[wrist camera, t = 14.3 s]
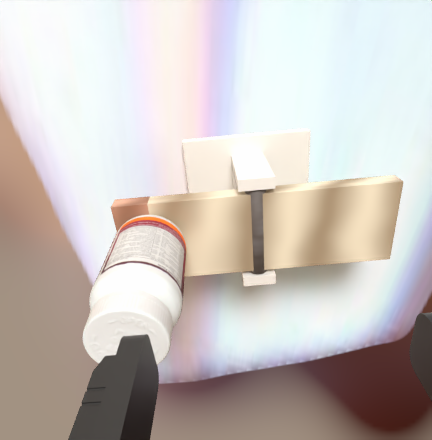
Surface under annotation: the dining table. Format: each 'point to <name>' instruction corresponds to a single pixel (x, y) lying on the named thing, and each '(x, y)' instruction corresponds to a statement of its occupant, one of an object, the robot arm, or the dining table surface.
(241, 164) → the pivot stand
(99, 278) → the pill bottle
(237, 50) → the dining table surface
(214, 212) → the board
